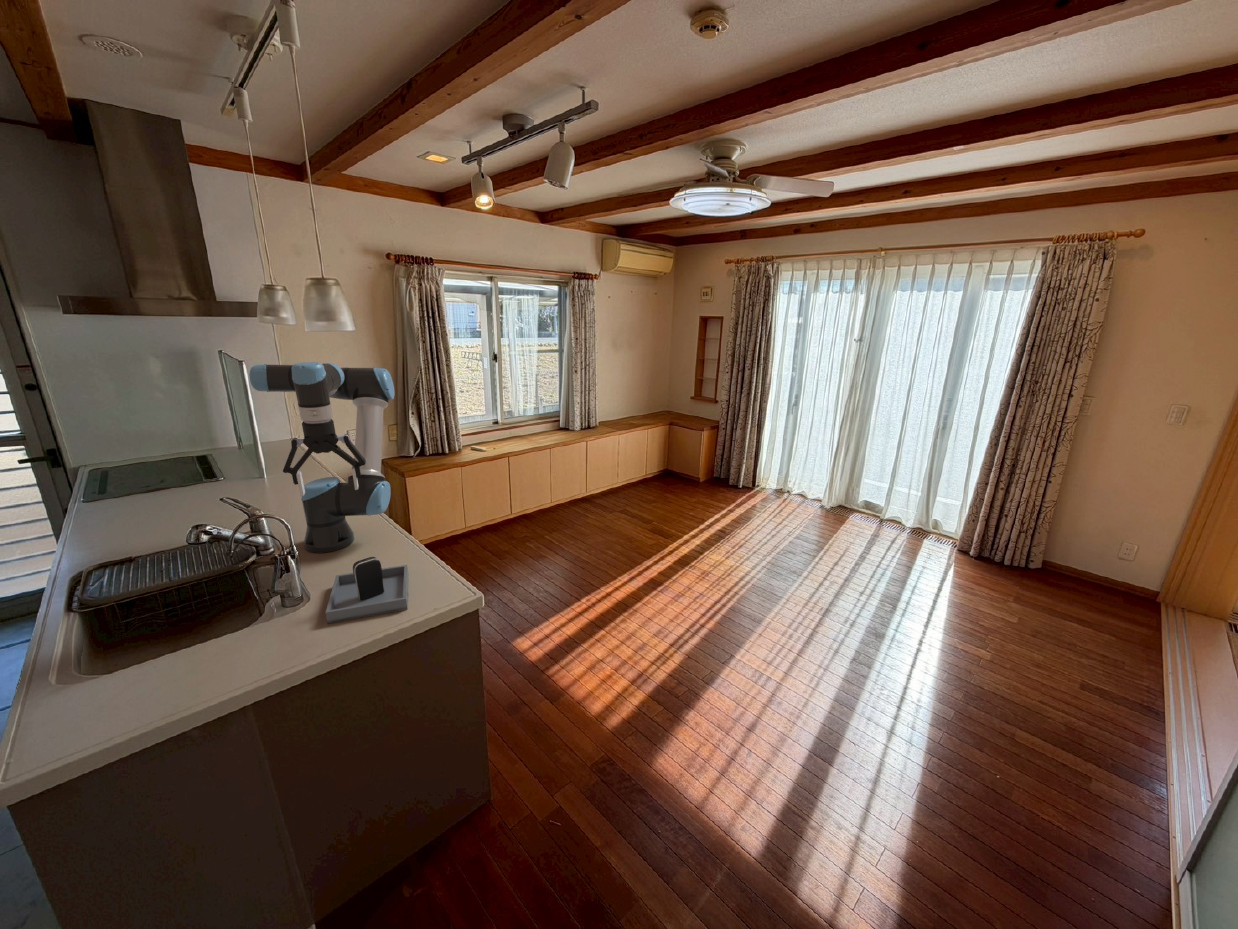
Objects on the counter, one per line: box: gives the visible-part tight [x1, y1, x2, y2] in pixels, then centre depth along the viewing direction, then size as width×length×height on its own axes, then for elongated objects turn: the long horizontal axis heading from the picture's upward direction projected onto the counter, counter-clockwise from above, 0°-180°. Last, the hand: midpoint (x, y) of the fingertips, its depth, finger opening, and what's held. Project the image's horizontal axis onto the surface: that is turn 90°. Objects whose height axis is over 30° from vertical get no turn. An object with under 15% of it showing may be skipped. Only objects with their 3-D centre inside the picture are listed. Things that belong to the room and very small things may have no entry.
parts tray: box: [325, 564, 409, 625], centre depth 140 cm, size 20×20×4 cm
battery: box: [352, 556, 384, 600], centre depth 138 cm, size 7×4×11 cm, turn 135°
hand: (330, 491), depth 140 cm, fingers open, 13 cm apart
